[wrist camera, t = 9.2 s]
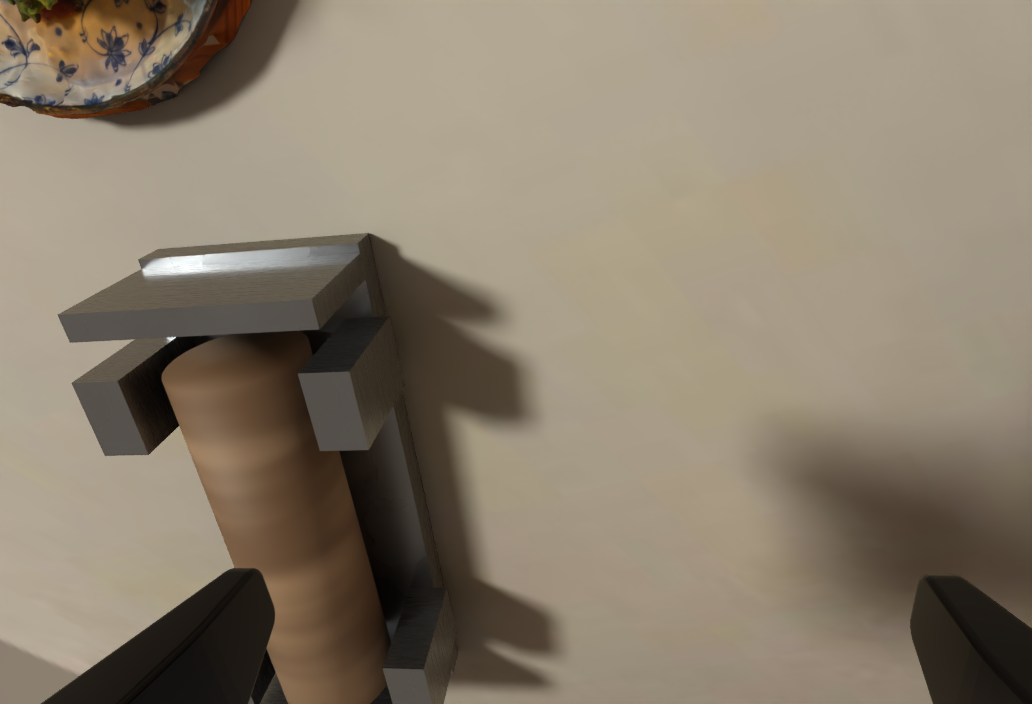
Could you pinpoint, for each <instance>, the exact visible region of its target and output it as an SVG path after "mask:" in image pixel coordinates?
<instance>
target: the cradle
mask: <svg viewBox="0 0 1032 704" xmlns="http://www.w3.org/2000/svg"><path fill="white" fill-rule="evenodd" d="M138 260H139V263H140V266H141V270H139V271H137V272H135V273H133V274H132V275H130V276H128V277H126V278H124V279H122V280H121V281H119V282H117V283H115V284H113V285H111V286H110V287H108V288H106V289H104V290H102V291H100V292H99V293H97V294H95V295H93V296H91V297H89V298H87V299H86V300H84V301H82V302H80V303H78V304H76V305H75V306H73V307H71V308H69V309H67V310H65V311H64V312H62V313H60V314H58V317H59V319H60V321H61V323H62V326H63V328H64V330H65V332H66V335H67V337H68V339H69V341H70V343H71V342H90V341H109V340H128V339H135V340H134V341H132V342H131V343H129V344H128V345H126V346H125V347H124V348H122V349H121V350H119V351H118V352H116V353H115V354H113V355H112V356H110V357H109V358H107V359H106V360H105V361H103V362H102V363H100V364H99V365H97V366H96V367H94V368H93V369H91V370H90V371H88V372H87V373H86V374H84V375H83V376H81V377H80V378H78V379H77V380H75V381H74V382H72V385H73V387H74V389H75V391H76V394H77V396H78V398H79V400H80V402H81V405H82V407H83V409H84V411H85V413H86V415H87V418H88V420H89V422H90V424H91V426H92V429H93V431H94V433H95V435H96V437H97V439H98V442H99V444H100V446H101V448H102V450H103V453H104V455H105V456H116V455H149V454H150V453H151V452H152V451H153V450H154V449H155V448H156V447H157V446H158V445H159V444H160V443H161V442H163V441H164V440H165V439H166V438H167V437H168V436H169V435H170V434H171V433H172V432H173V431H174V430H175V429H176V428H177V427H178V426H179V423H178V421H177V418H176V416H175V413H174V410H173V408H172V405H171V403H170V400H169V398H168V395H167V393H166V390H165V387H164V385H163V382H162V373H163V371H164V370H165V368H166V367H167V366H168V365H169V364H170V363H171V362H172V361H173V360H175V359H176V358H177V357H179V356H180V355H182V354H183V353H185V352H187V351H189V350H190V349H192V348H194V347H197V346H199V345H201V344H203V343H206V342H208V341H211V340H214V339H217V338H220V337H223V336H226V335H230V334H242V333H261V332H280V331H300V332H302V333H304V334H305V335H306V336H307V337H308V339H309V343H310V346H311V350H312V354H313V357H312V358H311V359H310V360H309V361H308V362H307V363H306V365H305V366H304V367H303V368H302V369H301V370H300V371H299V373H298V377H299V380H300V384H301V387H302V390H303V394H304V397H305V401H306V404H307V408H308V411H309V415H310V418H311V422H312V425H313V429H314V432H315V436H316V439H317V443H318V446H319V450H320V451H339V453H340V456H341V460H342V464H343V467H344V471H345V475H346V478H347V482H348V486H349V489H350V493H351V497H352V500H353V504H354V508H355V511H356V515H357V519H358V522H359V526H360V530H361V533H362V537H363V541H364V544H365V548H366V552H367V555H368V559H369V563H370V566H371V570H372V574H373V577H374V581H375V585H376V588H377V592H378V596H379V599H380V603H381V607H382V610H383V614H384V618H385V621H386V625H387V629H388V632H389V636H390V640H391V645H390V648H389V651H388V654H387V657H386V660H385V662H384V665H383V672H384V675H385V679H386V682H387V685H386V686H385V688H384V689H383V691H382V692H381V693H380V694H379V695H378V697H376V698H375V699H374V700H373V701H372V702H371V703H370V704H443V703H444V699H445V695H446V691H447V687H448V683H449V679H450V674H453V672H454V668H455V663H456V659H457V655H458V650H457V646H456V641H455V638H456V629H455V624H454V619H453V615H452V610H451V605H450V600H449V596H448V591H447V588H444V585H443V580H442V575H441V571H440V566H439V561H438V557H437V552H436V547H435V543H434V538H433V533H432V529H431V524H430V519H429V514H428V510H427V505H426V500H425V496H424V491H423V486H422V482H421V477H420V472H419V468H418V463H417V458H416V454H415V449H414V444H413V439H412V435H411V430H410V425H409V421H408V416H407V411H406V407H405V402H404V397H403V393H402V389H403V387H404V382H403V377H402V373H401V368H400V363H399V358H398V354H397V349H396V344H395V340H394V335H393V330H392V325H391V321H390V316H386V313H385V308H384V304H383V299H382V294H381V289H380V285H379V280H378V275H377V271H376V266H375V261H374V257H373V252H372V247H371V243H370V238H369V233H365V234H352V235H339V236H326V237H313V238H300V239H287V240H274V241H261V242H248V243H235V244H221V245H208V246H195V247H182V248H169V249H158V250H156V251H154V252H152V253H150V254H148V255H146V256H144V257H142V258H140V259H138ZM248 704H288V702H287V700H286V697H285V695H284V692H283V690H282V687H281V684H280V682H279V679H278V677H277V674H276V672H275V669H274V666H273V664H272V661H271V659H270V656H269V654H268V651H267V649H266V651H265V654H264V657H263V660H262V663H261V667H260V670H259V673H258V676H257V679H256V682H255V685H254V688H253V691H252V694H251V697H250V700H249V703H248Z"/></svg>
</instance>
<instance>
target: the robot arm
mask: <svg viewBox="0 0 1032 704" xmlns="http://www.w3.org/2000/svg"><path fill="white" fill-rule="evenodd" d="M274 622H275V608H274V604H273V602H272V599H271V596H270V593H269V591H268V588H267V585H266V583H265V580H264V577H263V575H262V573H261V572H260V571H259V570H258V569H255V568H233V569H230V570H228V571H226V572H224V573H223V574H222V575H220V576H219V577H217V578H216V579H215V580H213V581H212V582H210V583H209V584H208V585H206V586H205V587H203V588H202V589H201V590H199V591H198V592H196V593H195V594H194V595H192V596H191V597H189V598H188V599H187V600H185V601H184V602H182V603H181V604H180V605H178V606H177V607H175V608H174V609H173V610H171V611H170V612H168V613H167V614H166V615H164V616H163V617H161V618H160V619H159V620H157V621H156V622H154V623H153V624H152V625H150V626H149V627H147V628H146V629H145V630H143V631H142V632H140V633H139V634H138V635H136V636H135V637H133V638H132V639H131V640H129V641H128V642H126V643H125V644H124V645H122V646H121V647H119V648H118V649H117V650H115V651H114V652H112V653H111V654H110V655H108V656H107V657H105V658H104V659H103V660H101V661H100V662H98V663H97V664H96V665H94V666H93V667H91V668H90V669H89V670H87V671H86V672H84V673H83V674H82V675H80V676H79V677H77V678H76V679H75V680H73V681H72V682H70V683H69V684H68V685H66V686H65V687H63V688H62V689H61V690H59V691H58V692H56V693H55V694H54V695H52V696H51V697H49V698H48V699H47V700H45V701H44V702H42V703H41V704H248V703H249V700H250V697H251V694H252V691H253V688H254V685H255V682H256V679H257V676H258V673H259V670H260V667H261V663H262V660H263V657H264V654H265V651H266V648H267V645H268V642H269V639H270V636H271V633H272V630H273V626H274ZM910 629H911V635H912V640H913V643H914V646H915V649H916V652H917V655H918V659H919V662H920V665H921V668H922V671H923V674H924V677H925V680H926V683H927V687H928V690H929V693H930V696H931V699H932V702H933V704H1032V629H1031V628H1030V627H1029V626H1027V625H1026V624H1025V623H1023V622H1022V621H1021V620H1019V619H1018V618H1017V617H1015V616H1014V615H1013V614H1011V613H1010V612H1009V611H1007V610H1006V609H1004V608H1003V607H1002V606H1000V605H999V604H998V603H996V602H995V601H994V600H992V599H991V598H990V597H988V596H987V595H986V594H984V593H983V592H982V591H980V590H979V589H977V588H976V587H975V586H973V585H972V584H971V583H969V582H968V581H967V580H965V579H964V578H962V577H960V576H958V575H954V574H925V575H923V576H921V578H920V579H919V582H918V585H917V590H916V595H915V600H914V605H913V610H912V614H911V620H910Z"/></svg>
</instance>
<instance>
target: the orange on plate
mask: <svg viewBox="0 0 1032 704" xmlns="http://www.w3.org/2000/svg"><path fill="white" fill-rule="evenodd" d="M250 2H251V0H0V103H3V104H6V105H8V106H12V107H17V106H26V107H28V108H30V109H32V110H33V111H36V113H39V114H45V115H50V116H53V117H57V118H70V119H79V118H89V117H95V116H101V115H108V114H115V113H122V112H129V111H137V110H142V109H145V108H147V107H149V106H150V105H155V104H156V103H159V102H162V101H165V100H168V99H171V98H174V97H176V96H177V93H178V91H179V89H181V88H182V87H184V86H185V85H186V84H187V83H189V82H191V81H192V80H194V79H196V78H198V77H199V75H200V74H199V71H200V69H201V68H202V67H203V66H204V65H205V64H206V63H207V62H209V60H210V59H211V58H212V56H213V55H214V54H215V53H216V52H217V51H218V50H220V49H222V48H224V47H226V46H227V45H228V44H229V43H230V42H231V41H232V40H233V39H234V38H235V36H236V34H237V31H238V27H239V25H240V22H241V20H242V18H243V17H244V16H245V14H246V12H247V11H248V9H249V8H250Z"/></svg>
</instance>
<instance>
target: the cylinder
mask: <svg viewBox="0 0 1032 704" xmlns="http://www.w3.org/2000/svg"><path fill="white" fill-rule="evenodd" d="M312 357H313V354H312V350H311V346H310V343H309V339H308V337H307V336H306V335H305V334H304V333H302V332H300V331H280V332H261V333H242V334H230V335H226V336H223V337H220V338H217V339H214V340H211V341H208V342H206V343H203V344H201V345H199V346H197V347H194V348H192V349H190V350H189V351H187V352H185V353H183V354H182V355H180V356H179V357H177V358H176V359H175V360H173V361H172V362H171V363H170V364H169V365H168V366H167V367H166V368H165V370H164V371H163V373H162V382H163V385H164V387H165V390H166V393H167V395H168V398H169V400H170V403H171V405H172V408H173V410H174V413H175V416H176V418H177V421H178V423H179V426H180V428H181V431H182V434H183V436H184V439H185V441H186V444H187V446H188V449H189V451H190V454H191V457H192V459H193V462H194V464H195V467H196V469H197V472H198V474H199V477H200V480H201V482H202V485H203V487H204V490H205V492H206V495H207V498H208V500H209V503H210V505H211V508H212V510H213V513H214V515H215V518H216V521H217V523H218V526H219V528H220V531H221V533H222V536H223V538H224V541H225V544H226V546H227V549H228V551H229V554H230V556H231V559H232V562H233V564H234V567H235V568H255V569H258V570H259V571H260V572H261V573H262V575H263V577H264V580H265V583H266V585H267V588H268V591H269V593H270V596H271V599H272V602H273V604H274V608H275V622H274V626H273V630H272V633H271V636H270V639H269V642H268V645H267V648H266V649H267V651H268V654H269V656H270V659H271V661H272V664H273V666H274V669H275V672H276V674H277V677H278V679H279V682H280V684H281V687H282V690H283V692H284V695H285V697H286V700H287V702H288V704H370V703H371V702H372V701H373V700H374V699H375V698H376V697H378V695H379V694H380V693H381V692H382V691H383V689H384V688H385V686H386V685H387V682H386V679H385V675H384V672H383V665H384V662H385V660H386V657H387V654H388V651H389V648H390V645H391V640H390V636H389V632H388V629H387V625H386V621H385V618H384V614H383V610H382V607H381V603H380V599H379V596H378V592H377V588H376V585H375V581H374V577H373V574H372V570H371V566H370V563H369V559H368V555H367V552H366V548H365V544H364V541H363V537H362V533H361V530H360V526H359V522H358V519H357V515H356V511H355V508H354V504H353V500H352V497H351V493H350V489H349V486H348V482H347V478H346V475H345V471H344V467H343V464H342V460H341V456H340V453H339V451H320V450H319V446H318V443H317V439H316V436H315V432H314V429H313V425H312V422H311V418H310V415H309V411H308V408H307V404H306V401H305V397H304V394H303V390H302V387H301V384H300V380H299V377H298V373H299V371H300V370H301V369H302V368H303V367H304V366H305V365H306V363H307V362H308V361H309V360H310V359H311V358H312Z"/></svg>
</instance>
